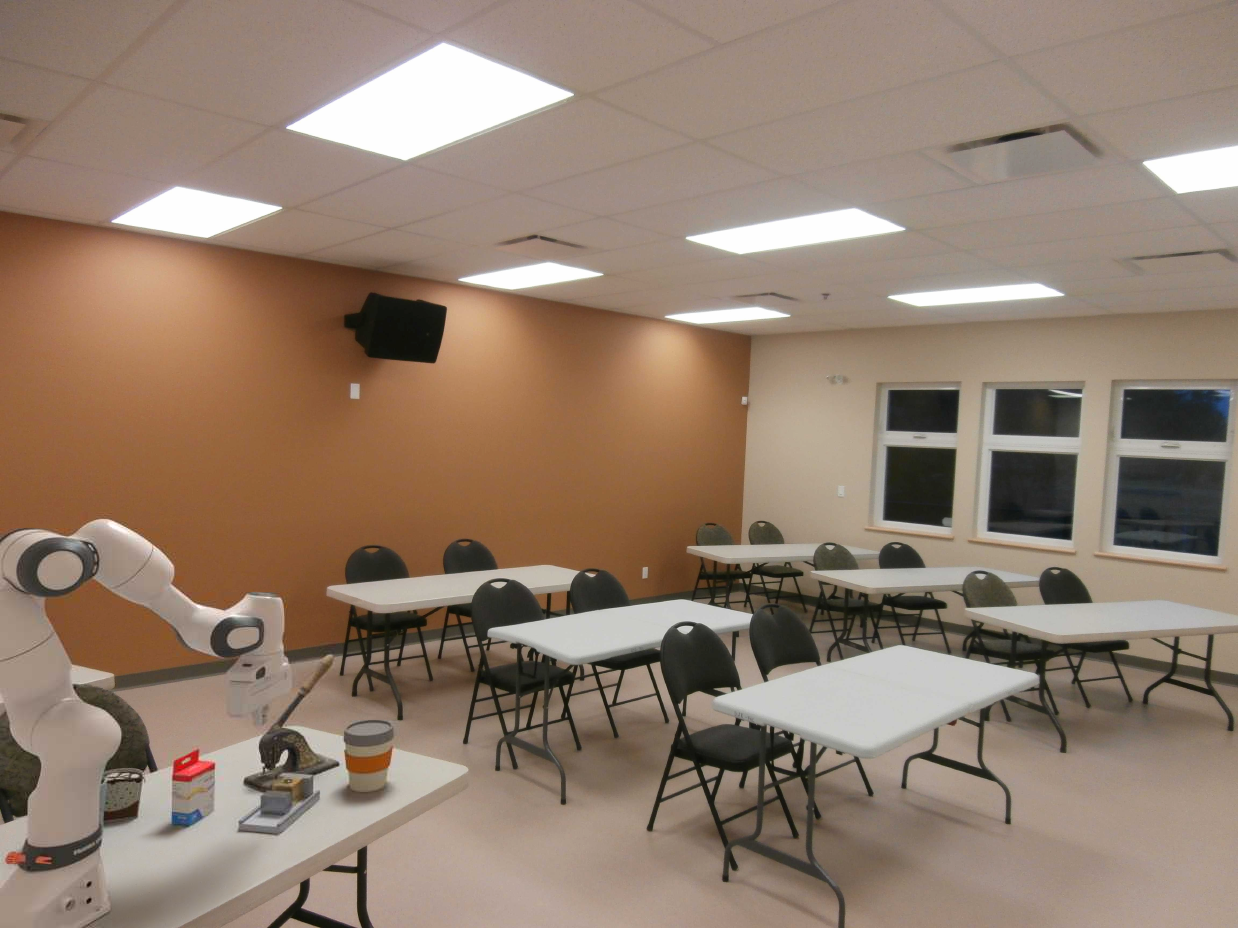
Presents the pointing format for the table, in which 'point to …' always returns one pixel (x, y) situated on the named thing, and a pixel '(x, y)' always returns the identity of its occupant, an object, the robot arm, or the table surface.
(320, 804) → the table surface
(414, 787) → the table surface
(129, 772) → the food container
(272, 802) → the block
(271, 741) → the embossing press
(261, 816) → the press bed
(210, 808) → the ink box
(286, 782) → the housing
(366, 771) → the reusable coffee cup
